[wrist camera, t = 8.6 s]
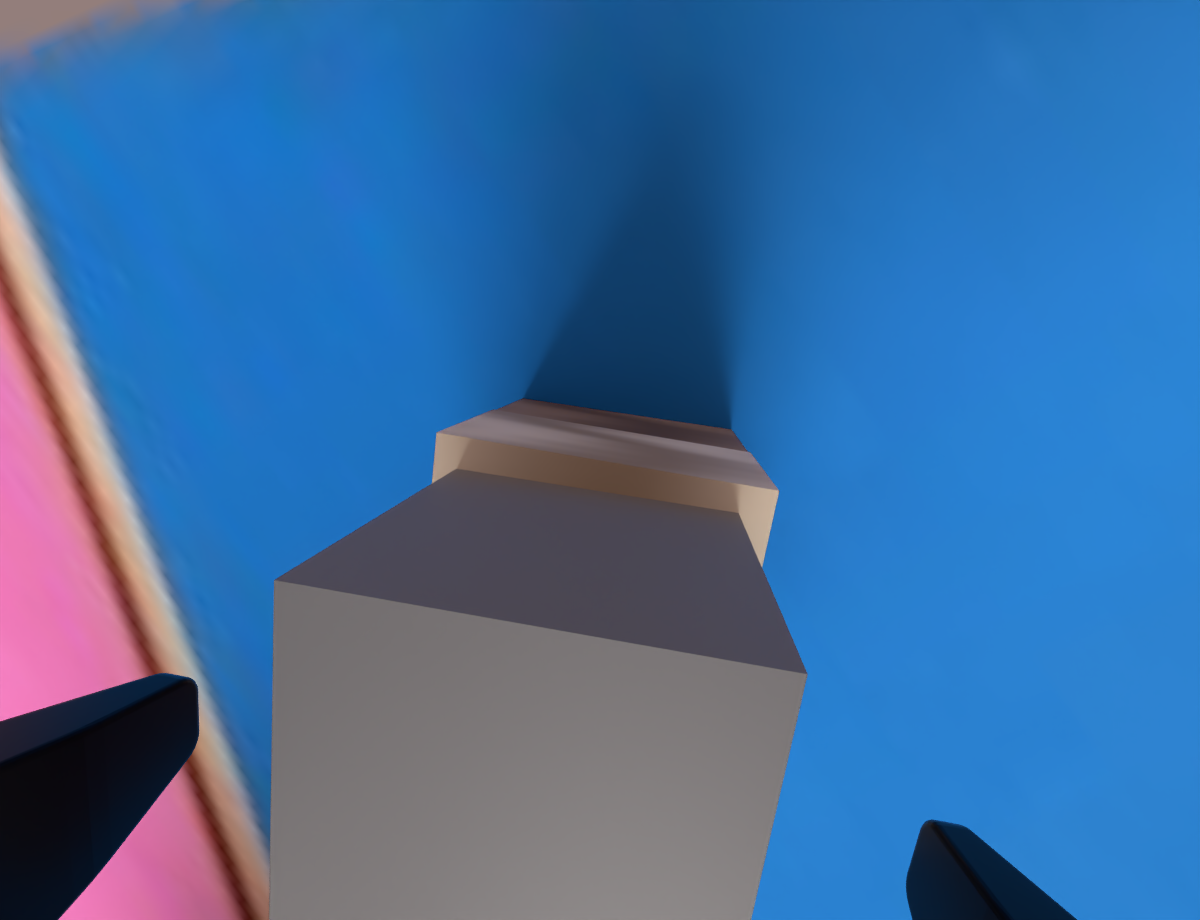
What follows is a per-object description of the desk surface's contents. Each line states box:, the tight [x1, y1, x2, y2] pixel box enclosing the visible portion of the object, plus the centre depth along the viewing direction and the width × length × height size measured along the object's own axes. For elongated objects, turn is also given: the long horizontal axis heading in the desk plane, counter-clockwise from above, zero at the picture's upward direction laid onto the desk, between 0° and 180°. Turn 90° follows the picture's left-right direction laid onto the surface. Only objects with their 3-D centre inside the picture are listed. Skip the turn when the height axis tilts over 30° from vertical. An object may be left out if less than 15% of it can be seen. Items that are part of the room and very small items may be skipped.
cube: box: [269, 469, 807, 920], centre depth 8 cm, size 5×5×5 cm
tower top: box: [432, 410, 779, 567], centre depth 12 cm, size 6×6×4 cm
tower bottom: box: [497, 398, 747, 452], centre depth 16 cm, size 6×6×4 cm
